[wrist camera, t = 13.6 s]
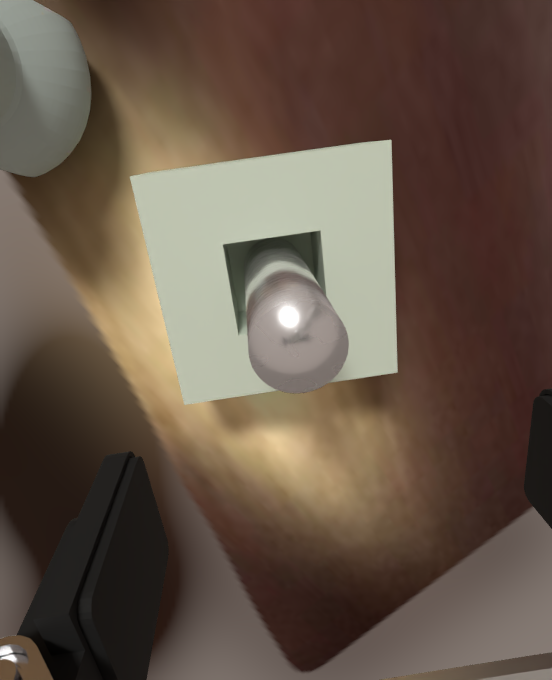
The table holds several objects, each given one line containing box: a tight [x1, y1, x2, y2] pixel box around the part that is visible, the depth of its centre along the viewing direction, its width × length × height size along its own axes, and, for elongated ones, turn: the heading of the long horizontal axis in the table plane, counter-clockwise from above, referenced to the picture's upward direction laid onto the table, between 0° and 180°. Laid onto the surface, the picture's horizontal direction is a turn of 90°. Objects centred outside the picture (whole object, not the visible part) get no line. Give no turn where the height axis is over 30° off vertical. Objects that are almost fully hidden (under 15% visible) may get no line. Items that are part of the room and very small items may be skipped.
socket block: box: [130, 140, 397, 405], centre depth 29 cm, size 14×14×6 cm
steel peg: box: [244, 238, 349, 393], centre depth 24 cm, size 4×4×14 cm
